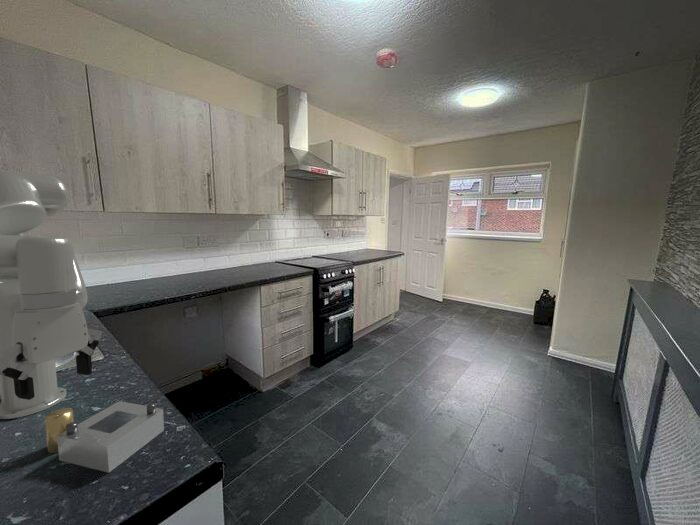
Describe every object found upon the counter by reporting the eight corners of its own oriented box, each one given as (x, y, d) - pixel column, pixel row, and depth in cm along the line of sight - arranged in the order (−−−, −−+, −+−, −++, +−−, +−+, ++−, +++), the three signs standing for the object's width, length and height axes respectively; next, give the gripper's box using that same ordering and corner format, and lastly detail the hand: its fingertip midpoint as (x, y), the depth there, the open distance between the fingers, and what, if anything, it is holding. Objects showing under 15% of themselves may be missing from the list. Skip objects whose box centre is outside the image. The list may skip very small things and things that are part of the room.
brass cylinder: (42, 450, 59) (39, 417, 58) (65, 437, 62) (63, 406, 62) (57, 454, 58) (54, 421, 57) (80, 440, 62) (77, 409, 61)
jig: (59, 460, 56) (56, 427, 56) (120, 421, 68) (119, 394, 67) (108, 472, 54) (106, 439, 53) (164, 430, 65) (162, 402, 65)
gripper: (84, 291, 66) (90, 364, 68) (-30, 310, 49) (-19, 407, 51) (110, 292, 64) (116, 368, 66) (2, 312, 48) (13, 412, 49)
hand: (57, 385), depth 58 cm, fingers open, 9 cm apart
